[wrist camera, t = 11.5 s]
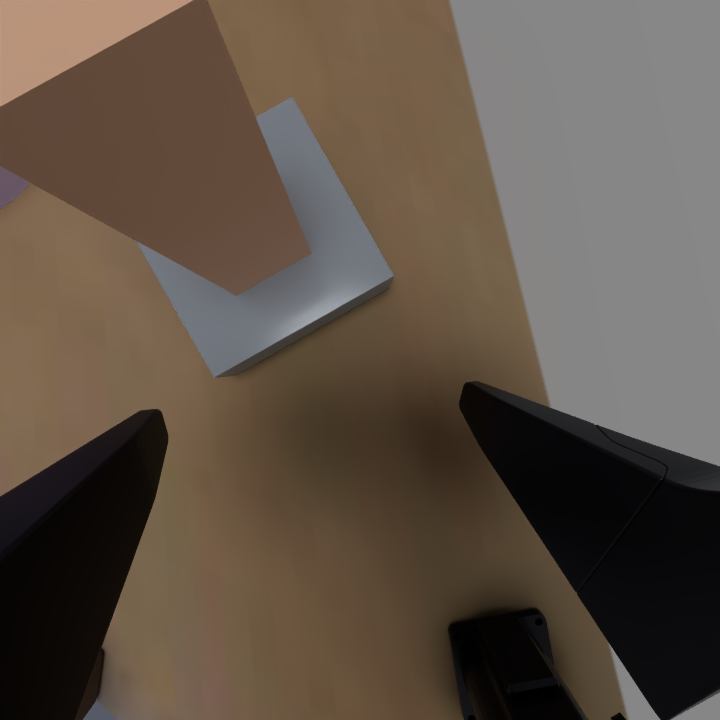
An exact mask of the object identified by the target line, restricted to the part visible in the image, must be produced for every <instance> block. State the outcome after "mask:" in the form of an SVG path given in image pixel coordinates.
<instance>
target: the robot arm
mask: <svg viewBox="0 0 720 720" xmlns="http://www.w3.org/2000/svg"><path fill="white" fill-rule="evenodd" d="M459 407H460V410H461V412H462V414H463V416H464V418H465V420H466V421H467V423H468V425H469V427H470V429H471V431H472V433H473V435H474V437H475V439H476V440H477V442H478V444H479V446H480V447H481V449H482V451H483V452H484V454H485V455H486V457H487V458H488V460H489V461H490V463H491V464H492V466H493V467H494V469H495V470H496V472H497V474H498V475H499V477H500V478H501V480H502V481H503V483H504V484H505V486H506V487H507V489H508V490H509V492H510V493H511V495H512V496H513V498H514V499H515V501H516V502H517V504H518V505H519V507H520V508H521V510H522V511H523V513H524V514H525V516H526V517H527V519H528V520H529V522H530V524H531V525H532V527H533V528H534V530H535V531H536V533H537V534H538V536H539V537H540V539H541V540H542V542H543V543H544V545H545V546H546V548H547V549H548V551H549V552H550V554H551V555H552V557H553V558H554V560H555V561H556V563H557V564H558V566H559V567H560V569H561V570H562V572H563V574H564V575H565V577H566V578H567V580H568V581H569V583H570V584H571V586H572V587H573V589H574V590H575V592H577V595H578V597H579V598H580V600H581V601H582V603H583V604H584V606H585V607H586V609H587V610H588V612H589V613H590V615H591V616H592V618H593V619H594V621H595V622H596V624H597V625H598V627H599V629H600V630H601V632H602V633H603V635H604V636H605V638H606V639H607V641H608V642H609V644H610V645H611V647H612V648H613V650H614V651H615V653H616V654H617V656H618V657H619V659H620V660H621V662H622V663H623V665H624V666H625V668H626V669H627V671H628V672H629V674H630V676H631V677H632V679H633V680H634V681H635V683H636V685H637V686H638V688H639V689H640V691H641V692H642V694H643V695H644V697H645V698H646V700H647V701H648V703H649V704H650V706H651V707H652V709H653V710H654V711H655V713H656V714H657V716H658V717H659V718H660V719H661V720H671V719H673V718H674V717H676V716H678V715H680V714H682V713H683V712H685V711H687V710H689V709H691V708H692V707H694V706H696V705H698V704H700V703H701V702H703V701H705V700H706V699H709V698H710V697H712V696H714V695H716V694H718V693H719V692H720V466H717V465H714V464H711V463H708V462H705V461H701V460H698V459H695V458H692V457H689V456H686V455H683V454H680V453H677V452H674V451H671V450H668V449H665V448H662V447H659V446H656V445H652V444H650V443H647V442H644V441H641V440H638V439H635V438H632V437H629V436H626V435H624V434H621V433H618V432H615V431H612V430H610V429H607V428H604V427H601V426H599V425H594V424H593V423H590V422H588V421H585V420H582V419H580V418H577V417H574V416H571V415H569V414H566V413H563V412H560V411H558V410H555V409H552V408H549V407H547V406H544V405H541V404H539V403H536V402H533V401H530V400H528V399H525V398H522V397H519V396H517V395H514V394H511V393H509V392H506V391H503V390H500V389H498V388H495V387H492V386H489V385H487V384H484V383H481V382H478V381H473V382H467V383H465V384H464V387H463V390H462V394H461V398H460V401H459ZM167 445H168V432H167V429H166V425H165V422H164V418H163V415H162V412H161V411H160V410H159V409H150V410H141V411H139V412H137V413H135V414H134V415H132V416H131V417H129V418H127V419H126V420H124V421H122V422H121V423H119V424H118V425H116V426H114V427H113V428H111V429H109V430H108V431H106V432H105V433H103V434H101V435H100V436H98V437H96V438H95V439H93V440H92V441H90V442H88V443H87V444H85V445H83V446H82V447H80V448H79V449H77V450H75V451H74V452H72V453H70V454H69V455H67V456H66V457H64V458H62V459H61V460H59V461H57V462H56V463H54V464H53V465H51V466H49V467H48V468H46V469H44V470H43V471H41V472H40V473H38V474H36V475H35V476H33V477H31V478H30V479H28V480H27V481H25V482H23V483H22V484H20V485H18V486H17V487H15V488H14V489H12V490H10V491H9V492H7V493H5V494H4V495H2V496H1V497H0V720H75V719H76V716H77V713H78V710H79V708H80V705H81V702H82V699H83V697H84V694H85V691H86V688H87V686H88V683H89V680H90V677H91V675H92V672H93V669H94V666H95V663H96V661H97V658H98V655H99V652H100V650H101V647H102V644H103V641H104V639H105V636H106V633H107V630H108V628H109V625H110V622H111V619H112V617H113V614H114V611H115V608H116V605H117V603H118V600H119V597H120V594H121V592H122V589H123V586H124V583H125V581H126V578H127V575H128V572H129V570H130V567H131V564H132V561H133V559H134V556H135V553H136V550H137V547H138V545H139V542H140V539H141V536H142V534H143V531H144V528H145V525H146V523H147V520H148V517H149V514H150V512H151V509H152V506H153V503H154V500H155V497H156V493H157V489H158V485H159V480H160V476H161V471H162V467H163V463H164V458H165V454H166V450H167ZM537 618H538V620H536V619H537ZM448 633H449V639H450V645H451V651H452V657H453V663H454V669H455V674H456V680H457V686H458V692H459V698H460V704H461V710H462V714H463V718H464V720H588V718H587V717H586V715H585V714H584V712H583V711H582V709H581V707H580V706H579V704H578V703H577V701H576V700H575V698H574V697H573V695H572V694H571V692H570V690H569V689H568V687H567V686H566V684H565V683H564V681H563V680H562V678H561V677H560V675H559V673H558V672H557V670H556V669H555V667H554V663H553V657H552V652H551V646H550V640H549V634H548V628H547V622H546V619H545V617H544V616H543V614H542V613H541V612H540V611H539V610H537V609H533V610H528V611H522V612H517V613H511V614H506V615H500V616H495V617H489V618H484V619H478V620H473V621H467V622H462V623H456V624H453V625H451V626H450V627H449V629H448ZM456 633H458V634H457V635H455V634H456ZM611 720H626V719H625V718H624V717H623V715H622V714H621V713H620V712H619V713H618V714H616V715H614V716H613V717H611Z"/></svg>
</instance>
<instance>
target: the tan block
mask: <svg viewBox="0 0 720 720" xmlns="http://www.w3.org/2000/svg"><path fill="white" fill-rule="evenodd" d="M0 166H1V167H3V168H4V169H6V170H8V171H10V172H12V173H14V174H15V175H17V176H19V177H21V178H23V179H25V180H26V181H28V182H30V183H32V184H34V185H35V186H37V187H39V188H41V189H43V190H45V191H46V192H48V193H50V194H52V195H54V196H56V197H57V198H59V199H61V200H63V201H65V202H66V203H68V204H70V205H72V206H74V207H76V208H77V209H79V210H81V211H83V212H85V213H86V214H88V215H90V216H92V217H94V218H96V219H97V220H99V221H101V222H103V223H105V224H107V225H108V226H110V227H112V228H114V229H116V230H117V231H119V232H121V233H123V234H125V235H127V236H128V237H130V238H132V239H134V240H136V241H138V242H139V243H141V244H143V245H145V246H147V247H148V248H150V249H152V250H154V251H156V252H158V253H159V254H161V255H163V256H165V257H167V258H169V259H170V260H172V261H174V262H176V263H178V264H179V265H181V266H183V267H185V268H187V269H189V270H190V271H192V272H194V273H196V274H198V275H200V276H201V277H203V278H205V279H207V280H209V281H210V282H212V283H214V284H216V285H218V286H220V287H221V288H223V289H225V290H227V291H229V292H230V293H232V294H234V295H236V296H238V295H239V294H241V293H243V292H245V291H246V290H248V289H250V288H252V287H254V286H255V285H257V284H259V283H261V282H262V281H264V280H266V279H268V278H269V277H271V276H273V275H275V274H276V273H278V272H280V271H282V270H284V269H285V268H287V267H289V266H291V265H292V264H294V263H296V262H298V261H299V260H301V259H303V258H305V257H306V256H308V255H310V254H312V253H311V250H310V248H309V245H308V243H307V241H306V238H305V236H304V233H303V231H302V228H301V226H300V224H299V221H298V219H297V216H296V214H295V212H294V209H293V207H292V204H291V202H290V199H289V197H288V195H287V192H286V190H285V187H284V185H283V183H282V180H281V178H280V175H279V173H278V170H277V168H276V166H275V163H274V161H273V158H272V156H271V154H270V151H269V149H268V146H267V144H266V141H265V139H264V137H263V134H262V132H261V129H260V127H259V125H258V122H257V120H256V117H255V115H254V112H253V110H252V108H251V105H250V103H249V100H248V98H247V95H246V93H245V91H244V88H243V86H242V83H241V81H240V79H239V76H238V74H237V71H236V69H235V66H234V64H233V62H232V59H231V57H230V54H229V52H228V50H227V47H226V45H225V42H224V40H223V37H222V35H221V33H220V30H219V28H218V25H217V23H216V21H215V18H214V16H213V13H212V11H211V8H210V6H209V4H208V1H207V0H0Z"/></svg>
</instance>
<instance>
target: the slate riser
mask: <svg viewBox="0 0 720 720" xmlns="http://www.w3.org/2000/svg"><path fill="white" fill-rule="evenodd" d="M256 120H257V122H258V125H259V127H260V129H261V132H262V134H263V137H264V139H265V141H266V144H267V146H268V149H269V151H270V154H271V156H272V158H273V161H274V163H275V166H276V168H277V170H278V173H279V175H280V178H281V180H282V183H283V185H284V187H285V190H286V192H287V195H288V197H289V199H290V202H291V204H292V207H293V209H294V212H295V214H296V216H297V219H298V221H299V224H300V226H301V228H302V231H303V233H304V236H305V238H306V241H307V243H308V245H309V248H310V250H311V253H312V254H310V255H308V256H306V257H305V258H303V259H301V260H299V261H298V262H296V263H294V264H292V265H291V266H289V267H287V268H285V269H284V270H282V271H280V272H278V273H276V274H275V275H273V276H271V277H269V278H268V279H266V280H264V281H262V282H261V283H259V284H257V285H255V286H254V287H252V288H250V289H248V290H246V291H245V292H243V293H241V294H239V295H238V296H236V295H234V294H232V293H230V292H229V291H227V290H225V289H223V288H221V287H220V286H218V285H216V284H214V283H212V282H210V281H209V280H207V279H205V278H203V277H201V276H200V275H198V274H196V273H194V272H192V271H190V270H189V269H187V268H185V267H183V266H181V265H179V264H178V263H176V262H174V261H172V260H170V259H169V258H167V257H165V256H163V255H161V254H159V253H158V252H156V251H154V250H152V249H150V248H148V247H147V246H145V245H143V244H141V243H139V242H138V241H136V242H137V244H138V245H139V247H140V249H141V251H142V252H143V254H144V256H145V258H146V259H147V261H148V263H149V265H150V266H151V268H152V270H153V272H154V273H155V275H156V277H157V279H158V280H159V282H160V284H161V286H162V287H163V289H164V291H165V293H166V294H167V296H168V298H169V300H170V301H171V303H172V305H173V307H174V308H175V310H176V312H177V314H178V316H179V317H180V319H181V321H182V323H183V324H184V326H185V328H186V330H187V331H188V333H189V335H190V337H191V338H192V340H193V342H194V344H195V345H196V347H197V349H198V351H199V352H200V354H201V356H202V358H203V359H204V361H205V363H206V365H207V366H208V368H209V370H210V372H211V373H212V375H213V377H214V378H216V377H225V376H234V375H237V374H239V373H240V372H242V371H244V370H246V369H247V368H249V367H251V366H253V365H255V364H256V363H258V362H260V361H262V360H263V359H265V358H267V357H269V356H270V355H272V354H274V353H276V352H278V351H279V350H281V349H283V348H285V347H286V346H288V345H290V344H292V343H293V342H295V341H297V340H299V339H300V338H302V337H304V336H306V335H308V334H309V333H311V332H313V331H315V330H316V329H318V328H320V327H322V326H323V325H325V324H327V323H329V322H330V321H332V320H334V319H336V318H338V317H339V316H341V315H343V314H345V313H346V312H348V311H350V310H352V309H353V308H355V307H357V306H359V305H361V304H362V303H364V302H366V301H368V300H369V299H371V298H373V297H375V296H376V295H378V294H380V293H382V292H383V291H385V290H387V289H389V286H390V284H391V282H392V279H393V277H394V275H393V273H392V271H391V270H390V268H389V266H388V264H387V263H386V261H385V259H384V257H383V256H382V254H381V252H380V250H379V249H378V247H377V245H376V243H375V242H374V240H373V238H372V236H371V235H370V233H369V231H368V229H367V227H366V226H365V224H364V222H363V220H362V219H361V217H360V215H359V213H358V212H357V210H356V208H355V206H354V205H353V203H352V201H351V199H350V198H349V196H348V194H347V192H346V191H345V189H344V187H343V185H342V184H341V182H340V180H339V178H338V176H337V175H336V173H335V171H334V169H333V168H332V166H331V164H330V162H329V161H328V159H327V157H326V155H325V154H324V152H323V150H322V148H321V147H320V145H319V143H318V141H317V140H316V138H315V136H314V134H313V133H312V131H311V129H310V127H309V126H308V124H307V122H306V120H305V118H304V117H303V115H302V113H301V111H300V110H299V108H298V106H297V104H296V103H295V101H294V99H293V97H291V98H289V99H288V100H286V101H284V102H282V103H280V104H279V105H277V106H275V107H273V108H271V109H270V110H268V111H266V112H264V113H262V114H261V115H259V116H257V117H256Z"/></svg>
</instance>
